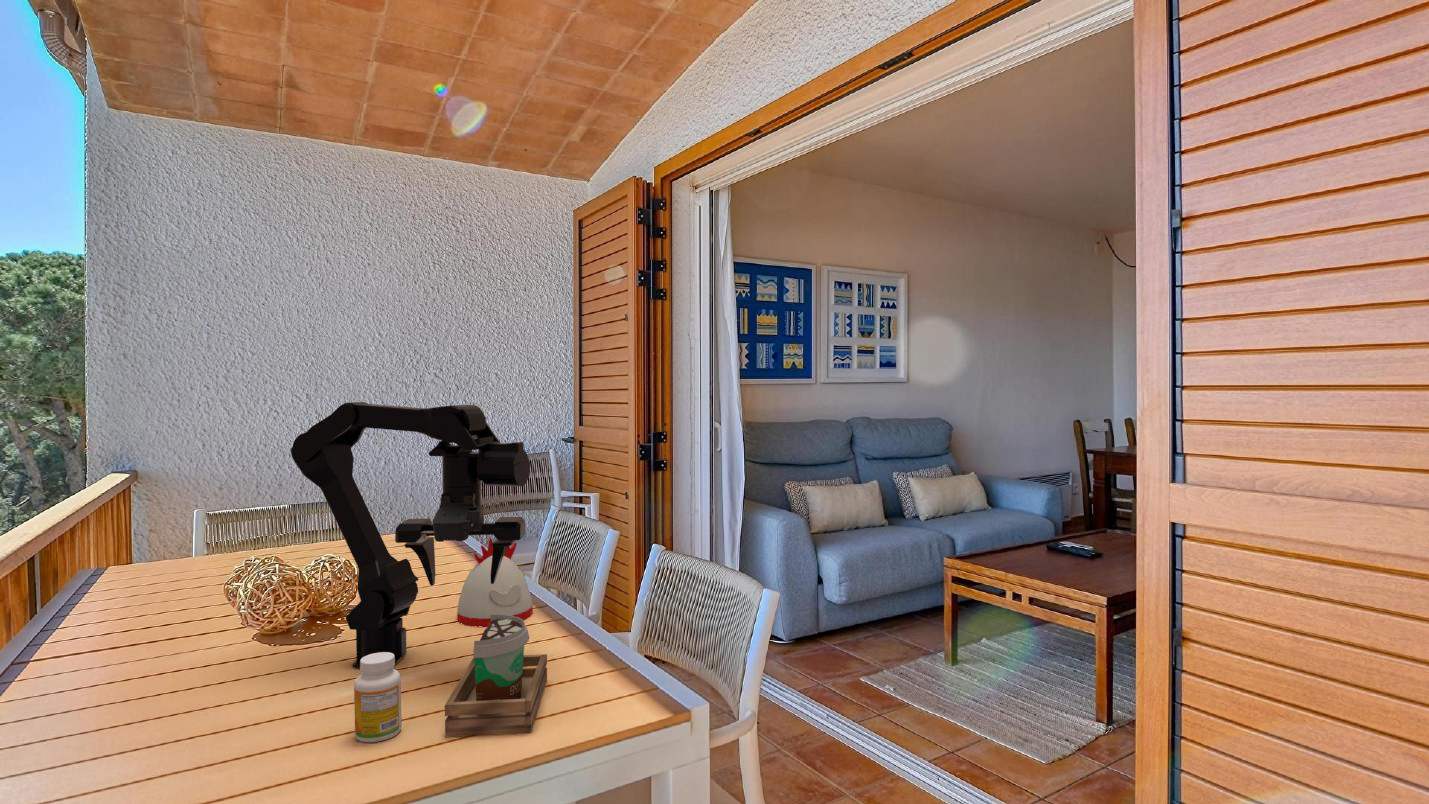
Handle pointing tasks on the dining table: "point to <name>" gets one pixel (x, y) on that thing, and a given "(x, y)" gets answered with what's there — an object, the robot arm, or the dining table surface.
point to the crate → (496, 704)
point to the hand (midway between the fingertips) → (462, 584)
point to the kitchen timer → (494, 591)
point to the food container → (500, 659)
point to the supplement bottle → (377, 698)
